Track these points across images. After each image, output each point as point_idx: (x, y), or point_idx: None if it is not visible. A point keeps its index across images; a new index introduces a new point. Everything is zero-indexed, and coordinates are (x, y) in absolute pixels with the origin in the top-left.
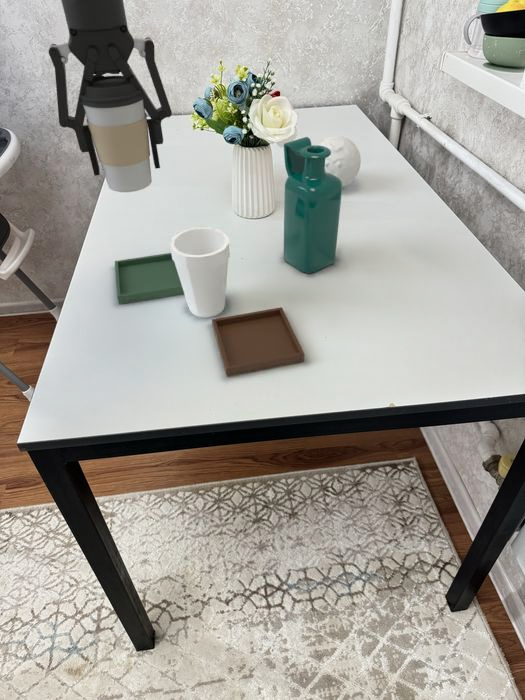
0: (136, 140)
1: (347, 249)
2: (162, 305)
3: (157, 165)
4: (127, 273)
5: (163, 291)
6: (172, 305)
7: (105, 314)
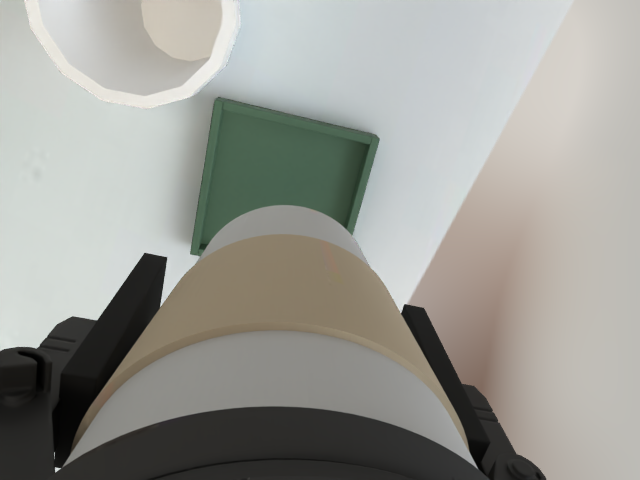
0: (216, 284)
1: None
2: (287, 79)
3: (151, 259)
4: None
5: (272, 111)
6: (266, 66)
7: (415, 113)
